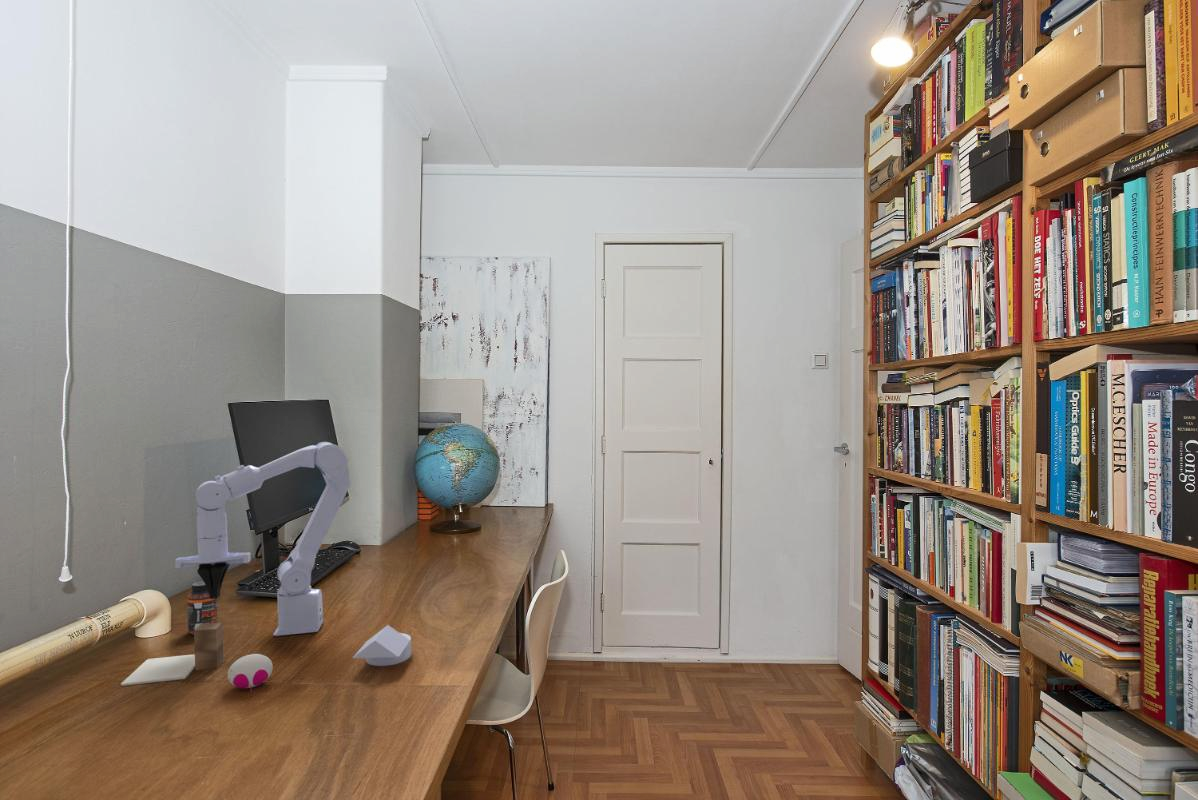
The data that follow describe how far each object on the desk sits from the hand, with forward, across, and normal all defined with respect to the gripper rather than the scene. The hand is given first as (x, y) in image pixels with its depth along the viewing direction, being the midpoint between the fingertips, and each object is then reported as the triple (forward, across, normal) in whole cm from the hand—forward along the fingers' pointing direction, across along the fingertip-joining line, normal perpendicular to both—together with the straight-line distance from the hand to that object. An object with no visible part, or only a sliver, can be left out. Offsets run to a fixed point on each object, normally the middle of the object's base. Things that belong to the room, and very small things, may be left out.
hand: (215, 597), depth 148 cm
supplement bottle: (+11, +6, -10) cm, 16 cm away
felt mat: (+10, +6, +12) cm, 17 cm away
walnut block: (+10, -2, +12) cm, 16 cm away
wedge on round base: (+11, -37, +20) cm, 44 cm away
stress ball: (+11, -14, +26) cm, 31 cm away
